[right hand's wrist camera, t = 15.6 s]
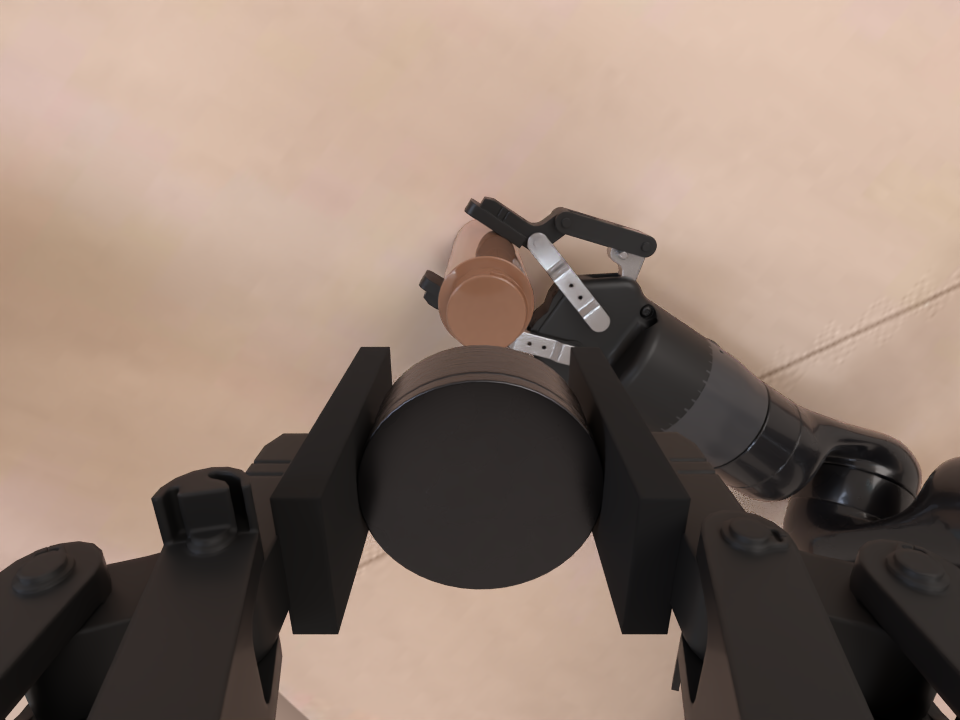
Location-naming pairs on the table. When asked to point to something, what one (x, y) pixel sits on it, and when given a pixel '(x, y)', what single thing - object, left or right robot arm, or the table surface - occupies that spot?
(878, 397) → the table surface
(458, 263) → the bottle
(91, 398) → the table surface
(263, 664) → the right robot arm
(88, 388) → the table surface
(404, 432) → the lid
